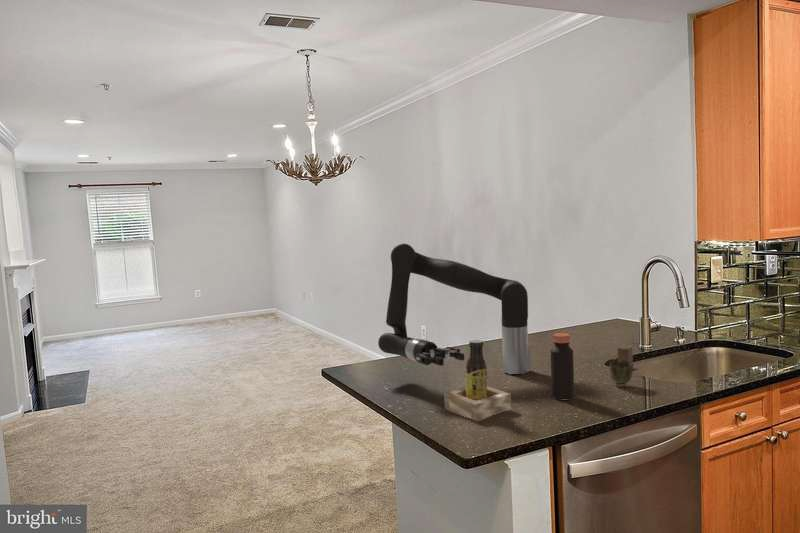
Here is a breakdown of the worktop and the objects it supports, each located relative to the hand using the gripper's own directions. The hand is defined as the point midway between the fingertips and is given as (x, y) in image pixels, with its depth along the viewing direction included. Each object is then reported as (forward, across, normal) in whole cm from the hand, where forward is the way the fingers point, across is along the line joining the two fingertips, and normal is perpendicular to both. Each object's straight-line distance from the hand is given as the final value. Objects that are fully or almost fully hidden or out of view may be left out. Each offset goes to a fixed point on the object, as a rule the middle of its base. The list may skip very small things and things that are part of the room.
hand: (453, 359), depth 183 cm
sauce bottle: (+10, 0, +13) cm, 16 cm away
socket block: (+10, 0, +14) cm, 17 cm away
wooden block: (+15, +68, +14) cm, 71 cm away
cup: (+26, +49, +14) cm, 57 cm away
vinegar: (+20, +27, +14) cm, 36 cm away
